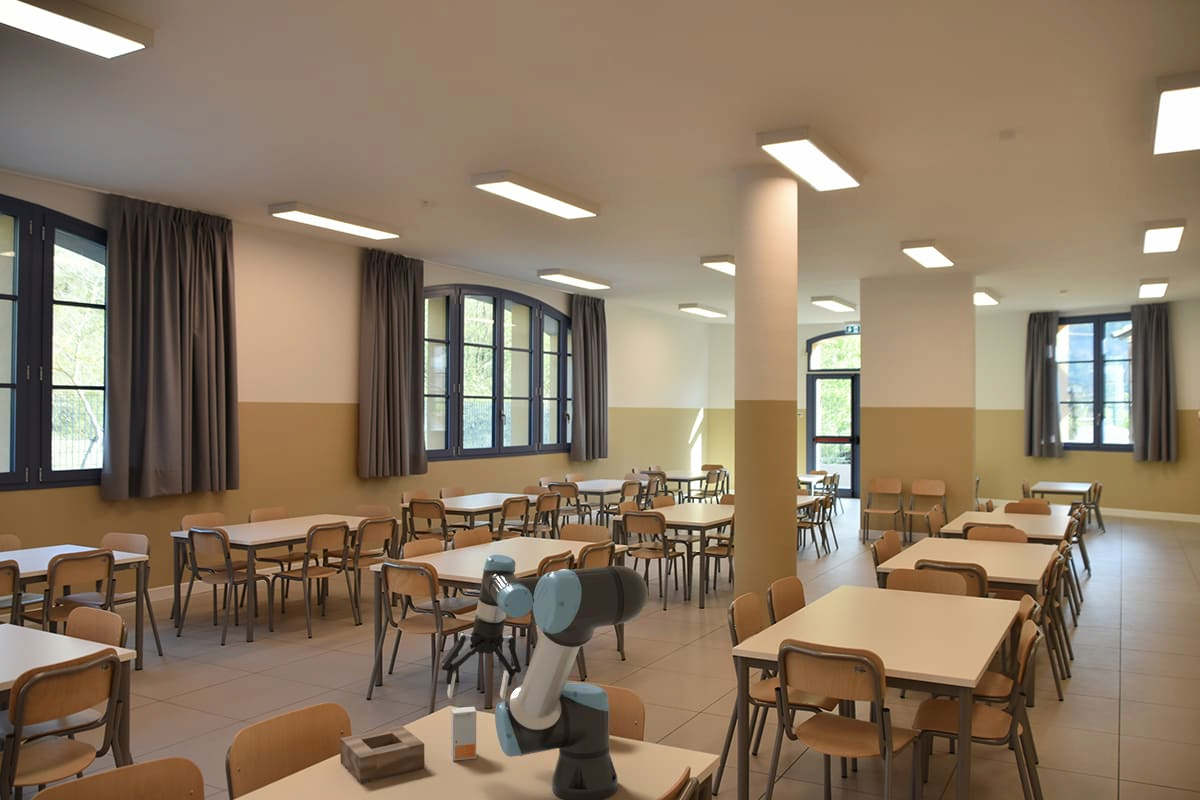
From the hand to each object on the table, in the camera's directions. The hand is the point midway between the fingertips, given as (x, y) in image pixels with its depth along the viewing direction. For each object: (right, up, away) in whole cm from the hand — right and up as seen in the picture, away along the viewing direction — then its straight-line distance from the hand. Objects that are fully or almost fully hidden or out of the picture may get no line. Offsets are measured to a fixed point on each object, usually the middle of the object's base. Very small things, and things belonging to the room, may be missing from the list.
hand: (476, 696), depth 215 cm
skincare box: (-3, -16, +2) cm, 17 cm away
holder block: (-23, -16, -3) cm, 28 cm away
